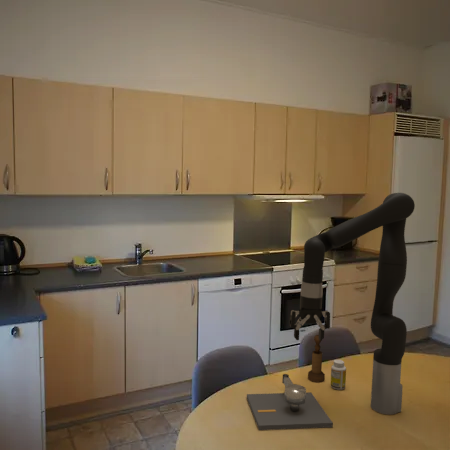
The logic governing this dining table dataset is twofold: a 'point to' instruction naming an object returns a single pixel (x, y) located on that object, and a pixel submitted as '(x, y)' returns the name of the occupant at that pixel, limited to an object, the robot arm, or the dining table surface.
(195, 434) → the dining table surface
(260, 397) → the plate
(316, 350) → the wooden pepper mill
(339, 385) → the supplement bottle
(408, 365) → the dining table surface
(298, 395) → the lever handle
